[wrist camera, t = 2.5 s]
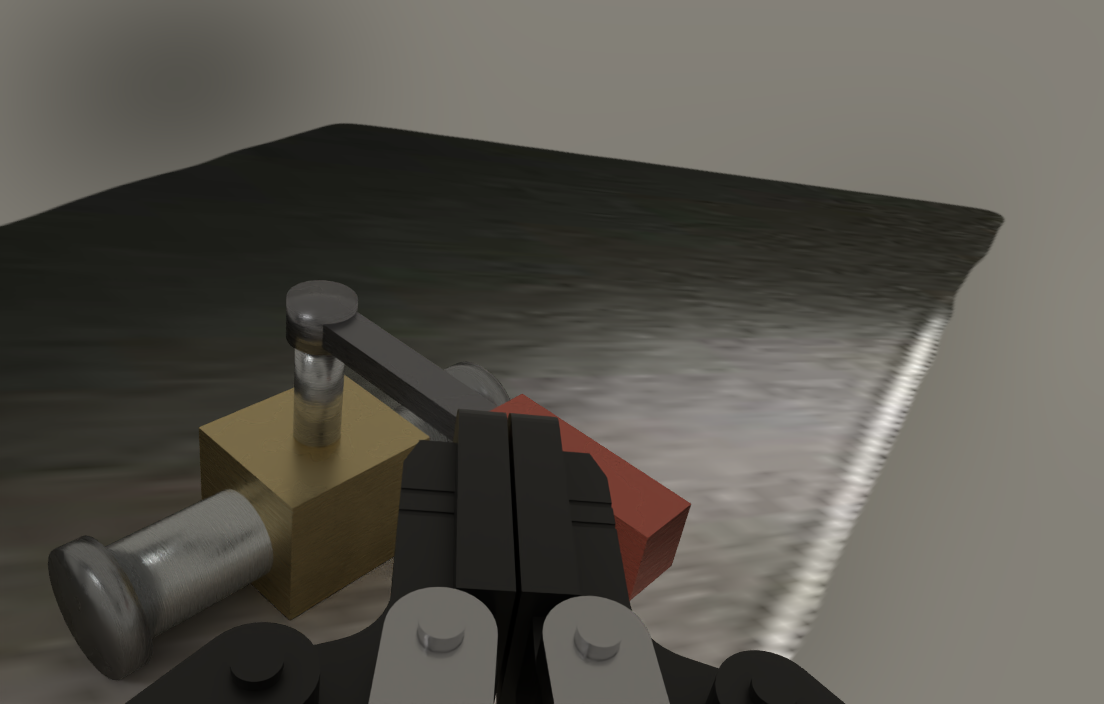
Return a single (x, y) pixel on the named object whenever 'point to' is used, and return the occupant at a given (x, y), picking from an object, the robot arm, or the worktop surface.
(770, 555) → the worktop surface
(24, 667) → the worktop surface
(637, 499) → the lever
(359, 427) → the valve
